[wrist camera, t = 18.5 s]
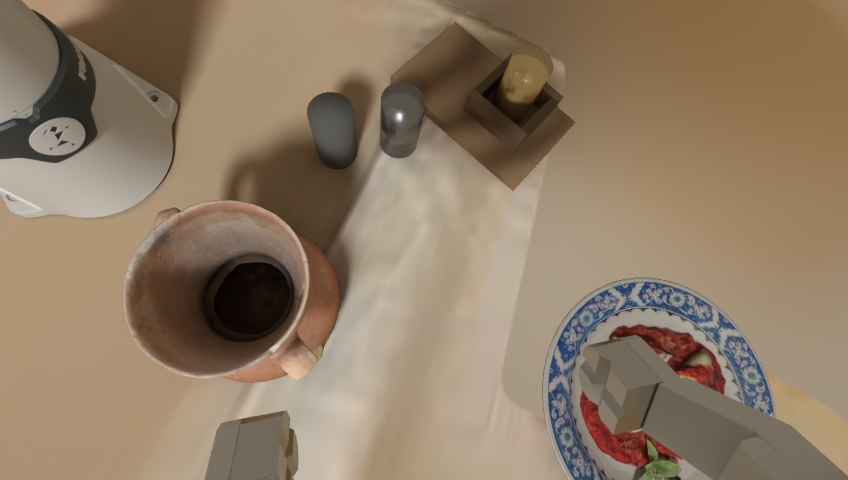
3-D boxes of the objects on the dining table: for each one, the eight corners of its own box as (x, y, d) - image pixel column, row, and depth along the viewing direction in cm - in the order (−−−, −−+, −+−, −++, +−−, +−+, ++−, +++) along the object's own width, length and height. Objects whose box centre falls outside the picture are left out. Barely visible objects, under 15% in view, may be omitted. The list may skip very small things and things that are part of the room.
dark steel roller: (372, 140, 47) (371, 100, 39) (397, 118, 48) (401, 74, 40) (399, 165, 47) (404, 129, 39) (424, 141, 48) (434, 102, 40)
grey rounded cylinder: (310, 151, 46) (297, 111, 38) (337, 127, 47) (330, 84, 39) (337, 176, 45) (330, 141, 38) (364, 151, 46) (363, 112, 39)
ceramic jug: (378, 315, 42) (381, 300, 28) (265, 422, 38) (205, 464, 24) (267, 195, 44) (219, 126, 30) (149, 285, 40) (32, 252, 26)
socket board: (390, 84, 49) (392, 59, 45) (453, 31, 52) (460, 2, 48) (512, 190, 47) (526, 175, 43) (569, 128, 51) (587, 108, 46)
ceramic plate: (576, 244, 47) (589, 238, 44) (774, 337, 47) (800, 336, 44) (499, 470, 39) (509, 480, 37) (735, 581, 39) (763, 599, 37)
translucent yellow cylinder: (482, 107, 48) (502, 59, 41) (506, 89, 49) (530, 38, 42) (508, 132, 47) (533, 88, 40) (532, 112, 49) (561, 66, 41)
